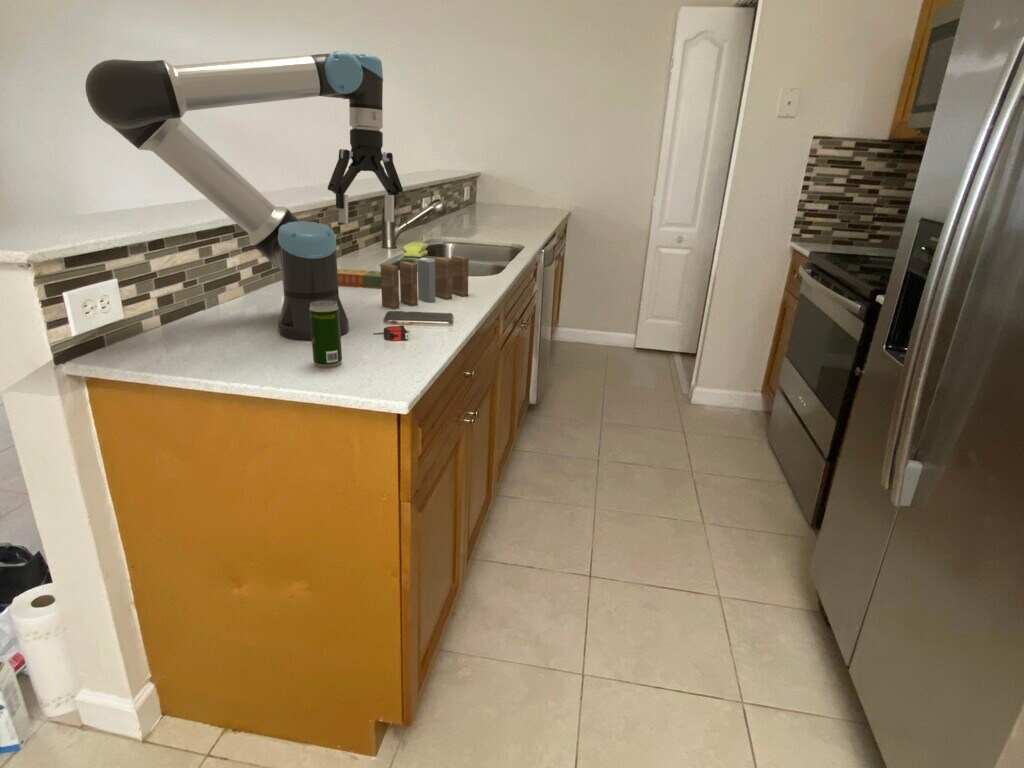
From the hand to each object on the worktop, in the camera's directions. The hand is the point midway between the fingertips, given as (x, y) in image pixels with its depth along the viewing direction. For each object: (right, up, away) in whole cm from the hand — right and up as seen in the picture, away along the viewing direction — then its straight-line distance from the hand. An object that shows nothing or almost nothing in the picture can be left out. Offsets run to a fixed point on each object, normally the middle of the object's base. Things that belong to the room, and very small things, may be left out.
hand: (367, 222), depth 153 cm
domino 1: (+4, -19, +12) cm, 23 cm away
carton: (-10, -10, +36) cm, 39 cm away
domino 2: (+8, -18, +16) cm, 25 cm away
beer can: (0, -36, -32) cm, 48 cm away
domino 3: (+12, -17, +20) cm, 28 cm away
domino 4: (+16, -15, +24) cm, 33 cm away
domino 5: (+20, -14, +28) cm, 37 cm away
